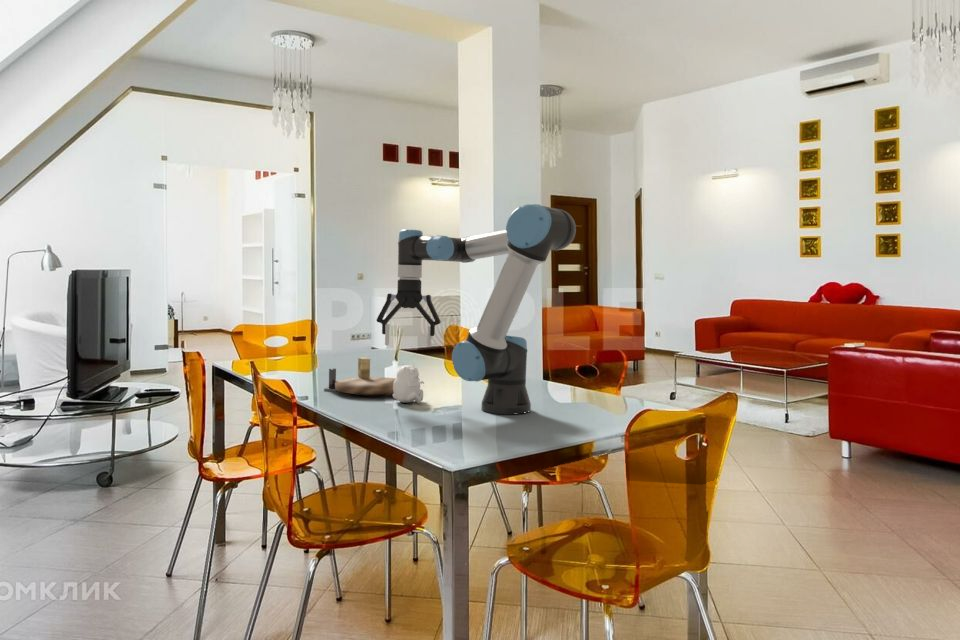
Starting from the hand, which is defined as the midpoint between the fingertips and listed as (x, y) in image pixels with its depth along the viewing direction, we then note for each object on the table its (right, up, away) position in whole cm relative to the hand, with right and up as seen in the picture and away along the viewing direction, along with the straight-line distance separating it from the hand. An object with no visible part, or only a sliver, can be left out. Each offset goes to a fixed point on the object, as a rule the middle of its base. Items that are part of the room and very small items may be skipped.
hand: (408, 345), depth 218 cm
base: (-19, -17, +19) cm, 31 cm away
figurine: (0, -19, +1) cm, 19 cm away
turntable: (-14, -15, +18) cm, 28 cm away
